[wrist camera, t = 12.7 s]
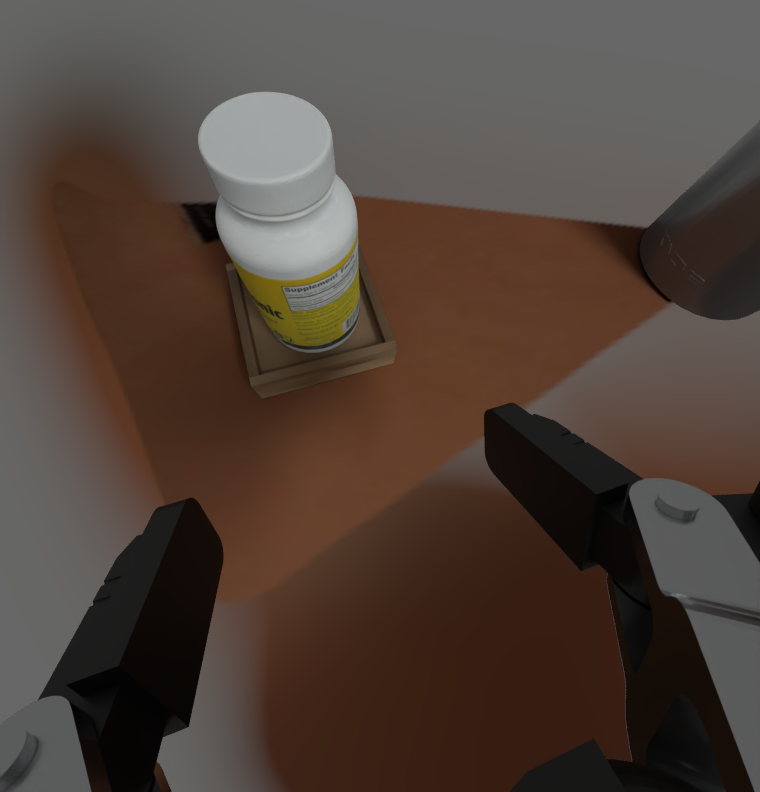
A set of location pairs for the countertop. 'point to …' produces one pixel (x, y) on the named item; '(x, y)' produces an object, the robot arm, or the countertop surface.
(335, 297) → the supplement bottle
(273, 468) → the countertop surface
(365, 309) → the wooden tray
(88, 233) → the countertop surface
